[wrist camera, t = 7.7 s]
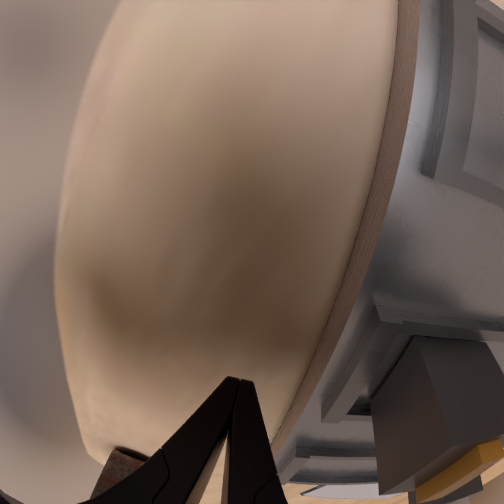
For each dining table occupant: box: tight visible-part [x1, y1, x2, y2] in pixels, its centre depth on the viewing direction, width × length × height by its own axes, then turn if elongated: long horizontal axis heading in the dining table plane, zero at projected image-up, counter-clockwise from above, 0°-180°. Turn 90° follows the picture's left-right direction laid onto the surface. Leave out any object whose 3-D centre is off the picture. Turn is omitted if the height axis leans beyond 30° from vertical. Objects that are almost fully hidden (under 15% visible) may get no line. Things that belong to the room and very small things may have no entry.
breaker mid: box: [370, 336, 504, 504], centre depth 7 cm, size 4×4×5 cm
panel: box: [271, 0, 504, 485], centre depth 9 cm, size 18×28×3 cm, turn 172°
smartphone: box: [300, 483, 404, 499], centre depth 21 cm, size 7×1×15 cm
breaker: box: [408, 475, 483, 504], centre depth 11 cm, size 4×4×5 cm
